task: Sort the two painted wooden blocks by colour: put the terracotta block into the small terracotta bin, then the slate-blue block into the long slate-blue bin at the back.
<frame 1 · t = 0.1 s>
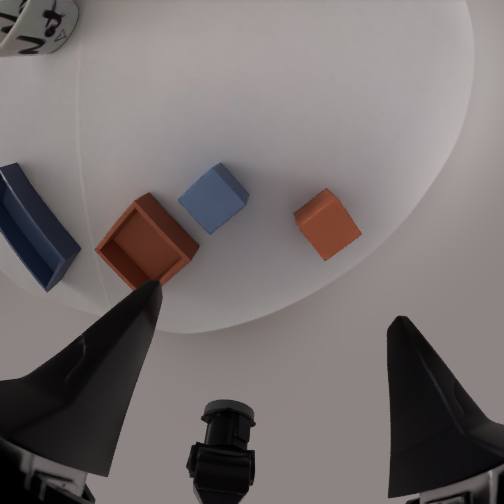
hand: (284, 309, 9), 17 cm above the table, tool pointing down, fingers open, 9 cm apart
terracotta block: (322, 216, 26), on the table
slate block: (219, 192, 25), on the table
mug: (50, 24, 16), on the table
terracotta bin: (151, 241, 27), on the table
slate bin: (35, 222, 27), on the table
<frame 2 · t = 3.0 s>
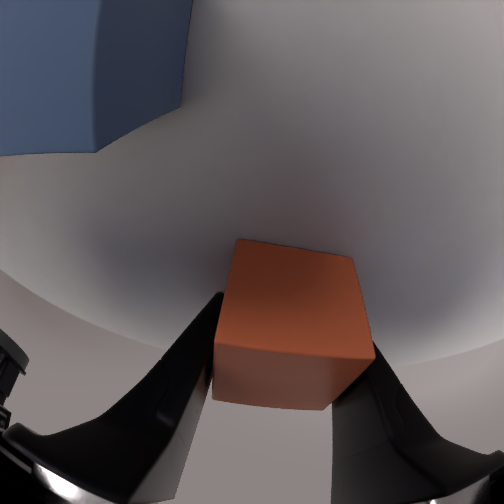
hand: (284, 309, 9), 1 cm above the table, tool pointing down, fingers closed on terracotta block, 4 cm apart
terracotta block: (284, 289, 10), on the table, touching gripper
slate block: (121, 44, 5), on the table
when the fingers open (4 cm above the table, at t = 17.9 s): terracotta block drops 2 cm, resting on terracotta bin.
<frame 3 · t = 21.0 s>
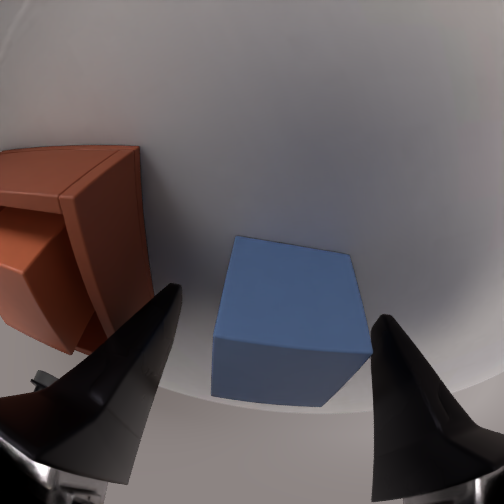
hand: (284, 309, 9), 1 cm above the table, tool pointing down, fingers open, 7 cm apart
terracotta block: (66, 235, 9), resting on terracotta bin
slate block: (282, 286, 10), on the table
terracotta bin: (71, 230, 10), on the table
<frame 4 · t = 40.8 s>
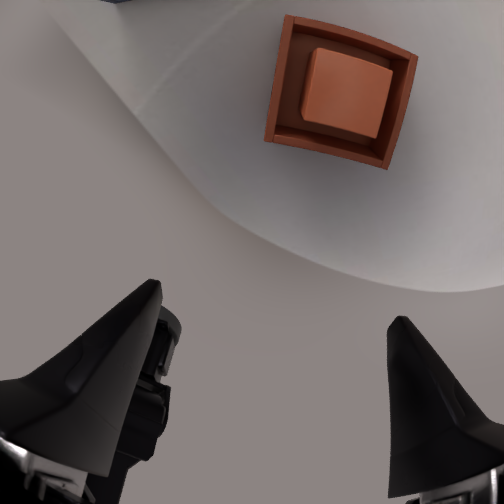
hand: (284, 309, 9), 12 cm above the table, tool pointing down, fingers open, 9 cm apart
terracotta block: (334, 88, 14), resting on terracotta bin
terracotta bin: (332, 88, 15), on the table
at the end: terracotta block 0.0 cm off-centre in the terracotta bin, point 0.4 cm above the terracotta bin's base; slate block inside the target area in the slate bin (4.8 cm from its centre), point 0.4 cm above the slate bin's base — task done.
